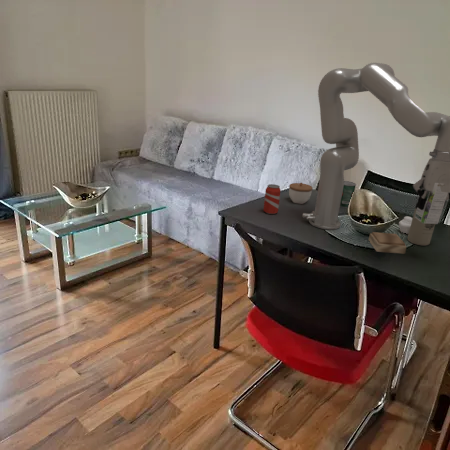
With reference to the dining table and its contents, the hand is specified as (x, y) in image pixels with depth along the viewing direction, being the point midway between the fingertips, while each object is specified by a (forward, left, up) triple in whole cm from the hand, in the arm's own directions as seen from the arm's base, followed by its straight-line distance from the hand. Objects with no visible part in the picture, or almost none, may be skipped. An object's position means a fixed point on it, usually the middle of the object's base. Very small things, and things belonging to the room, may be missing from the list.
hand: (429, 208), depth 134 cm
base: (-8, +8, -19) cm, 22 cm away
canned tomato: (-10, +54, -18) cm, 57 cm away
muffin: (+6, +23, -18) cm, 30 cm away
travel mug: (+7, +14, -18) cm, 24 cm away
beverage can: (-47, +39, -18) cm, 63 cm away
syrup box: (0, 0, -5) cm, 5 cm away
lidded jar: (-31, +56, -18) cm, 66 cm away
